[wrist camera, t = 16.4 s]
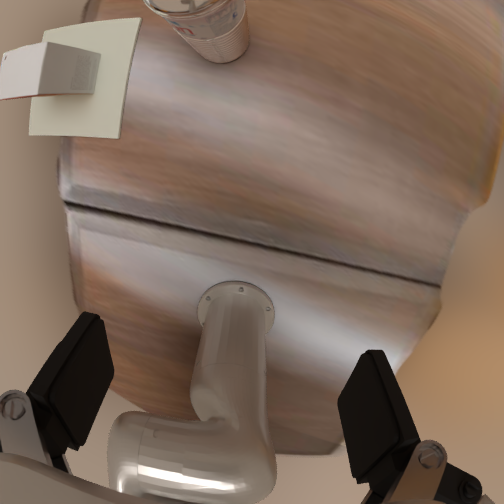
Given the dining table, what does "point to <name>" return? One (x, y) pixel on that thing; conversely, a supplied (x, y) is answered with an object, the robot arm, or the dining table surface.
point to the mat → (106, 87)
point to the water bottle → (208, 25)
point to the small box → (47, 71)
